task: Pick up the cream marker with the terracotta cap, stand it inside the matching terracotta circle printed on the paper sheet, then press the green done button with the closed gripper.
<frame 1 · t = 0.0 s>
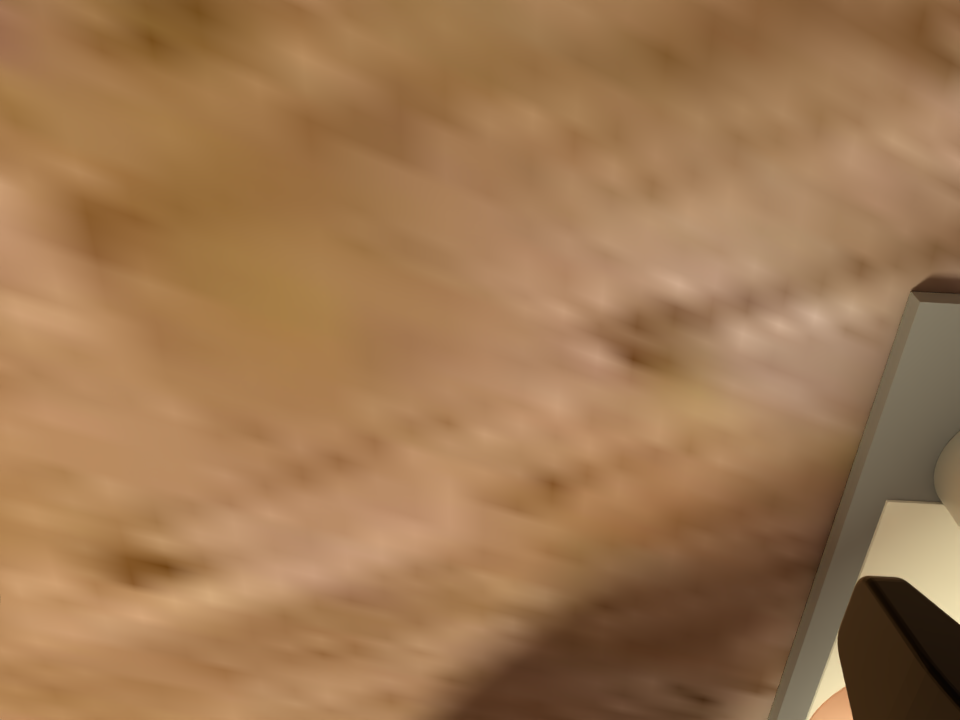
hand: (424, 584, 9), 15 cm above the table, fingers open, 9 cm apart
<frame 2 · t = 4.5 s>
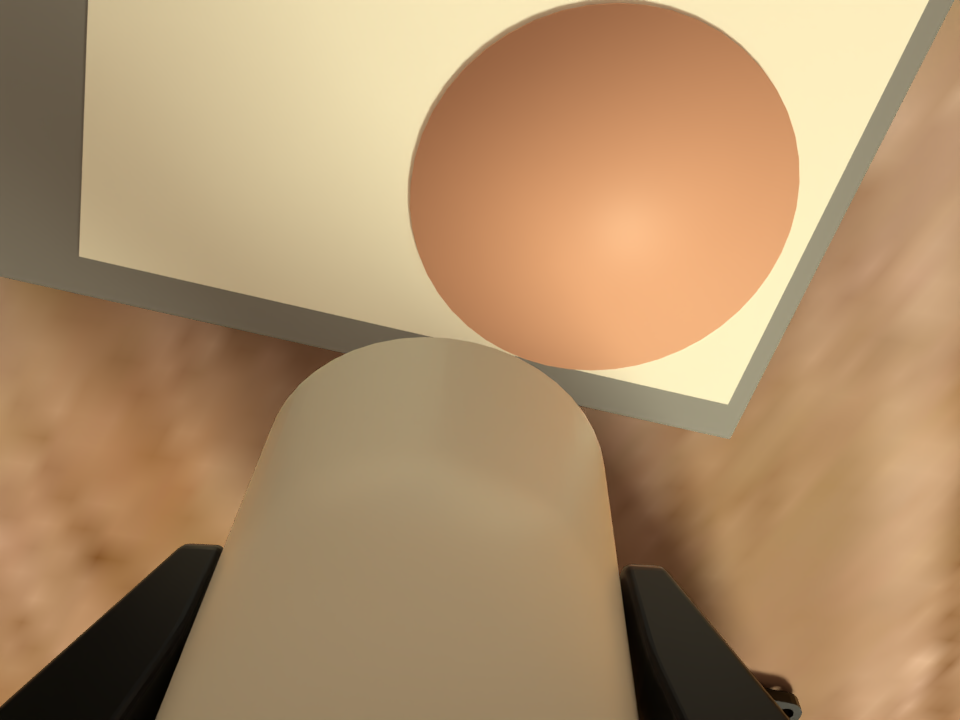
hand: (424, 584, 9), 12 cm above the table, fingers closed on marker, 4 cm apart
marker: (434, 485, 11), point 10 cm above the table, touching gripper
when the fingers open (4 cm above the table, at t = 6.6 s): marker drops 1 cm, resting on colouring board.
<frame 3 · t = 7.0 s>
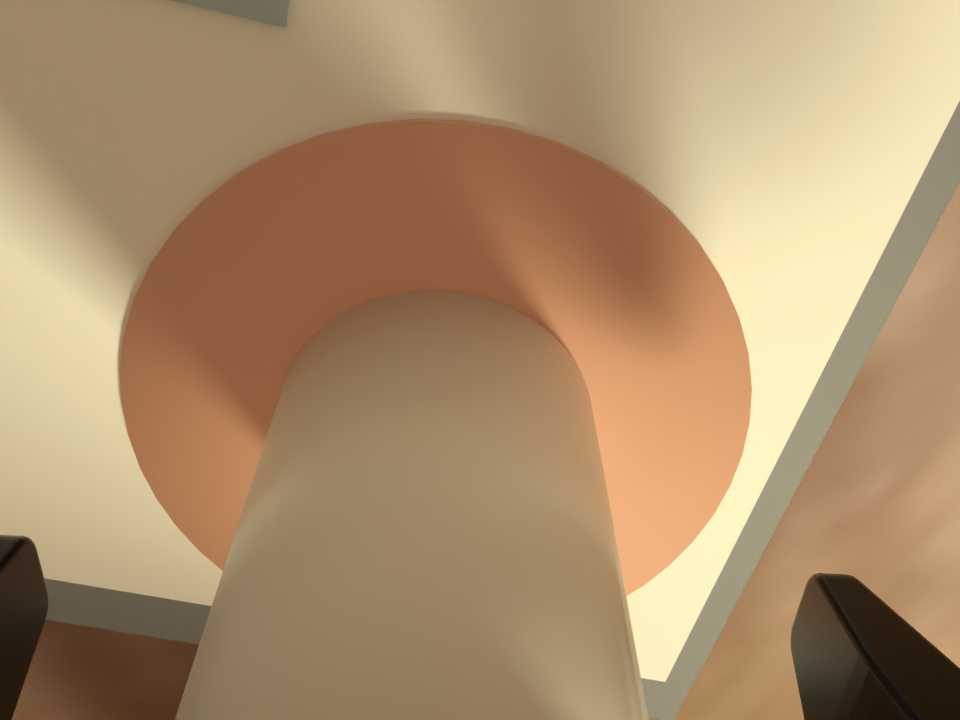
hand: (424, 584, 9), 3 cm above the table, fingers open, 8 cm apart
marker: (436, 428, 12), point 1 cm above the table, touching colouring board
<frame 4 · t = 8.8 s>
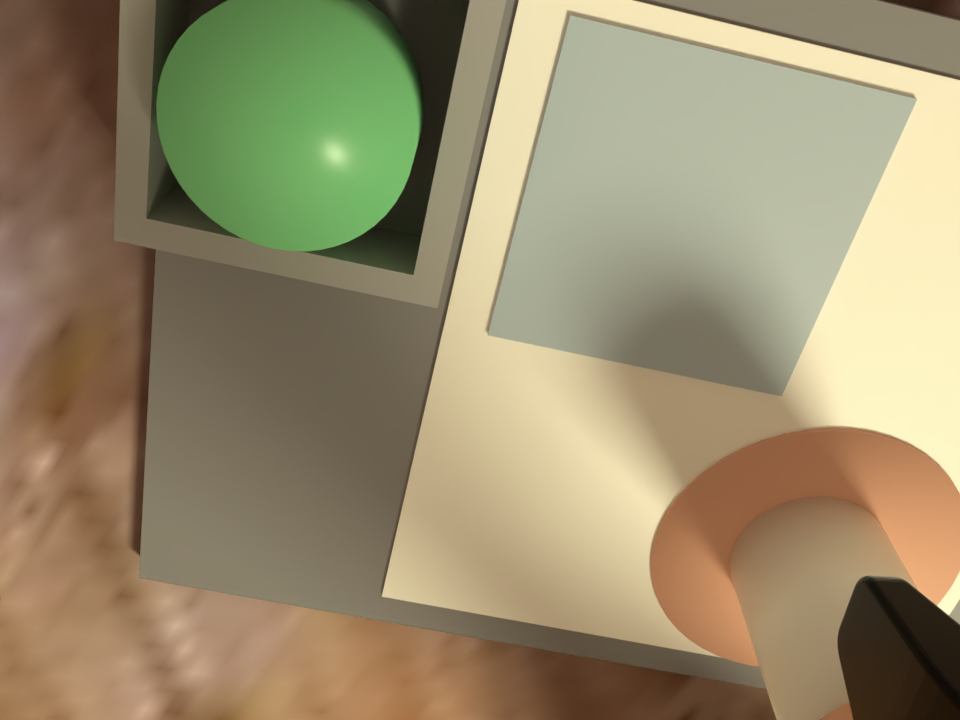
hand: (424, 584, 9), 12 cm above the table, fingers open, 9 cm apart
marker: (807, 558, 24), point 1 cm above the table, touching colouring board
colouring board: (626, 367, 22), on the table
done button: (297, 116, 16), point 3 cm above the table, slide at 0.0 cm
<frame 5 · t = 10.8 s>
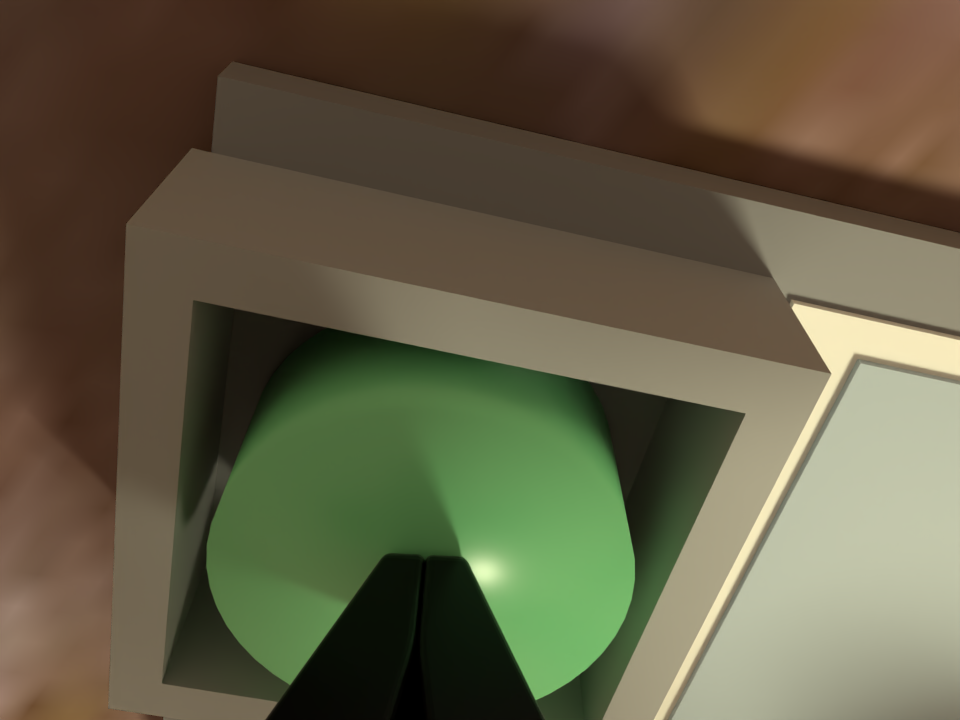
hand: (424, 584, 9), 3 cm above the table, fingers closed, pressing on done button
done button: (426, 518, 10), point 2 cm above the table, slide at 0.7 cm, touching gripper
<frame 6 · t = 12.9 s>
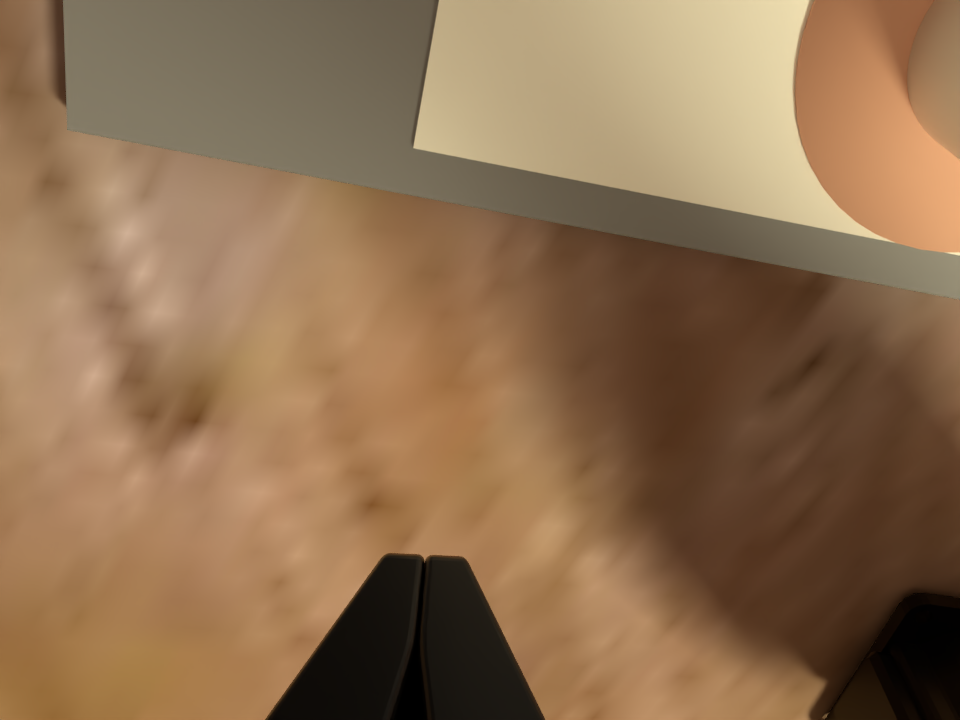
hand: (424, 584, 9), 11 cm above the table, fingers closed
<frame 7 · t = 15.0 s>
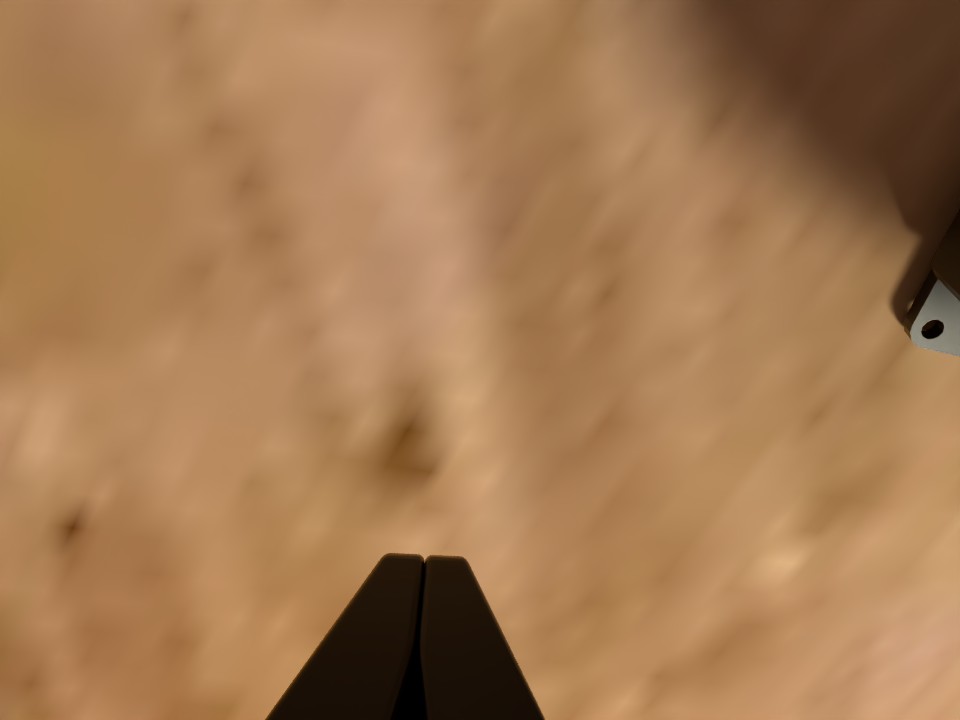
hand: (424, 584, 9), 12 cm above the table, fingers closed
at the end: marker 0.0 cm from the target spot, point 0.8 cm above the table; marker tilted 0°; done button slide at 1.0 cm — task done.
